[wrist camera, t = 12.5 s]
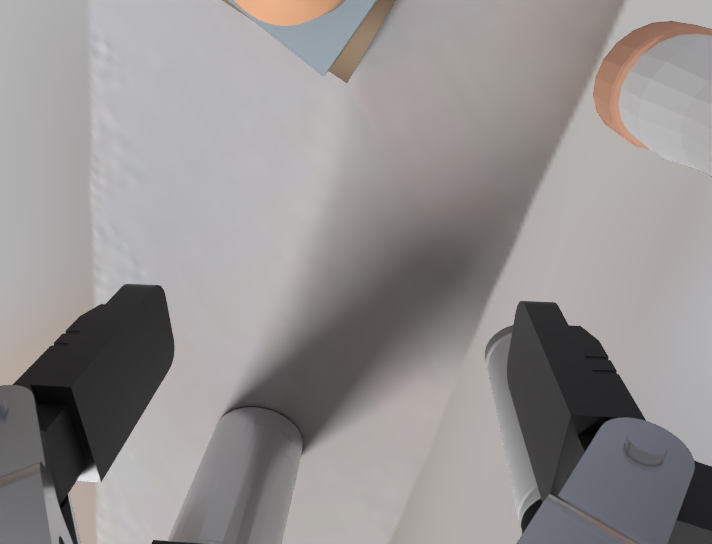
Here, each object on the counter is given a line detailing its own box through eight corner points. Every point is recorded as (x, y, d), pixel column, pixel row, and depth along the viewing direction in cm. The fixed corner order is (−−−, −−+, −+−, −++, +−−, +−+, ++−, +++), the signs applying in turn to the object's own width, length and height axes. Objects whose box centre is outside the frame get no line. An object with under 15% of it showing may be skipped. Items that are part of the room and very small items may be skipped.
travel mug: (486, 384, 48) (531, 613, 31) (482, 325, 45) (530, 544, 28) (557, 379, 47) (644, 612, 30) (557, 319, 44) (656, 540, 27)
